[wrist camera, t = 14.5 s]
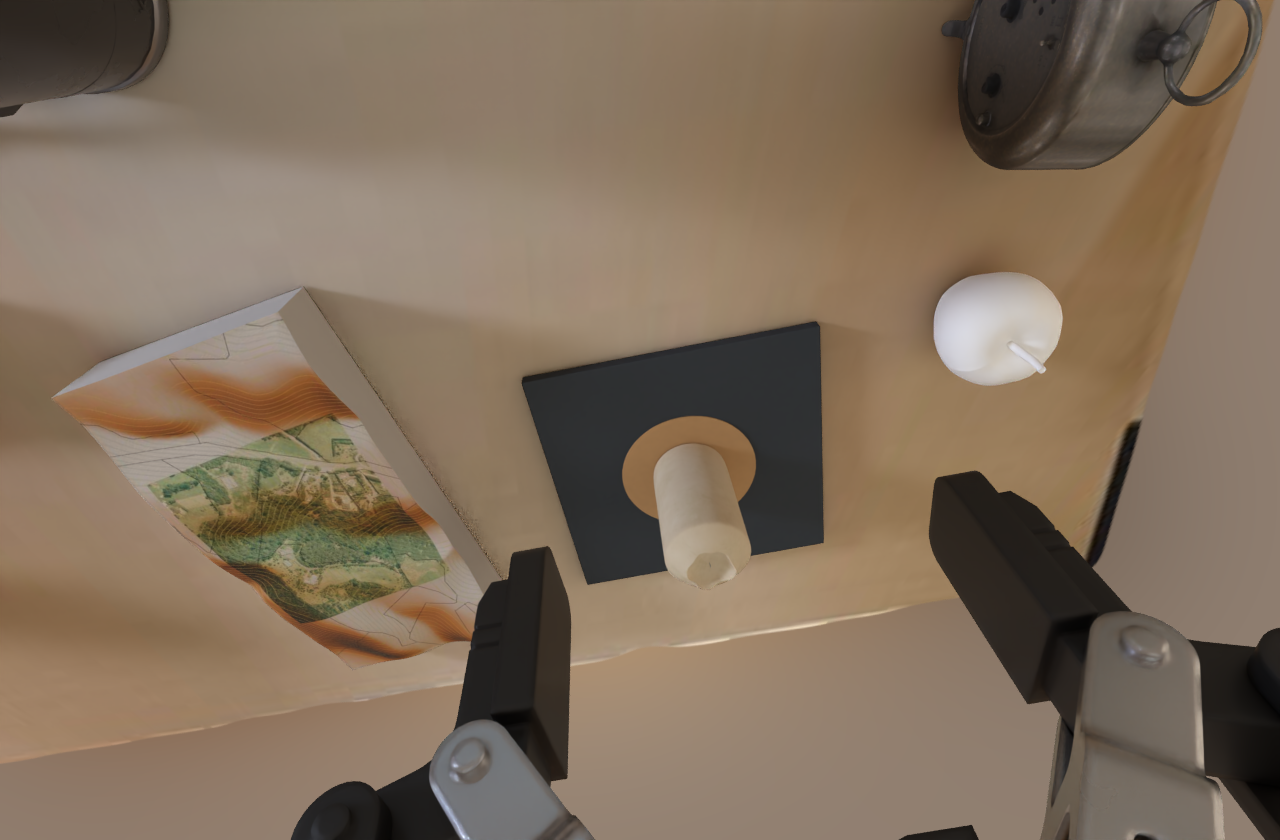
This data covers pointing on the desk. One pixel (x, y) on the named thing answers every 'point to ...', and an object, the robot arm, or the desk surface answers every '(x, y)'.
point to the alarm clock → (1078, 75)
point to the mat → (685, 442)
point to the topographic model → (290, 478)
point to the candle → (699, 517)
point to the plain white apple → (997, 327)
